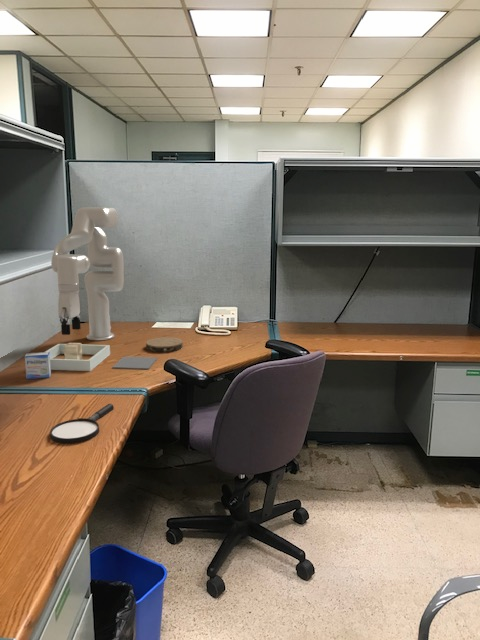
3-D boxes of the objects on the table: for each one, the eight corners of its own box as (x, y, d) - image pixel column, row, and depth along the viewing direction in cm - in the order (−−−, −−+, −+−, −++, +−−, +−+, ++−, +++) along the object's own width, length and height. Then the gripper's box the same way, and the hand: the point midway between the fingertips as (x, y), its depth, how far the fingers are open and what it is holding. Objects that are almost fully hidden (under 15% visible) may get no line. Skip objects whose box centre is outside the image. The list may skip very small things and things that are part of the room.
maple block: (70, 359, 197) (69, 342, 196) (82, 359, 197) (81, 343, 195) (65, 363, 192) (63, 346, 191) (77, 363, 192) (76, 346, 190)
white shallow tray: (59, 352, 206) (58, 343, 205) (110, 354, 204) (109, 345, 204) (33, 369, 185) (32, 358, 184) (90, 371, 183) (89, 360, 182)
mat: (123, 357, 200) (123, 356, 200) (157, 358, 199) (157, 357, 199) (112, 368, 186) (112, 367, 186) (148, 369, 185) (148, 368, 185)
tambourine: (187, 345, 221) (187, 338, 221) (174, 354, 206) (173, 347, 206) (155, 342, 225) (155, 336, 225) (139, 351, 210) (139, 344, 210)
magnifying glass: (129, 412, 147) (128, 405, 146) (81, 448, 124) (80, 440, 124) (93, 407, 150) (92, 400, 150) (40, 441, 128) (39, 433, 127)
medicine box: (26, 379, 173) (24, 356, 171) (28, 375, 178) (26, 352, 176) (50, 377, 175) (48, 354, 174) (51, 373, 180) (49, 351, 178)
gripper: (68, 285, 197) (71, 327, 200) (49, 291, 180) (52, 336, 183) (87, 285, 196) (89, 327, 200) (68, 291, 179) (71, 337, 183)
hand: (71, 331), depth 191 cm, fingers open, 9 cm apart
